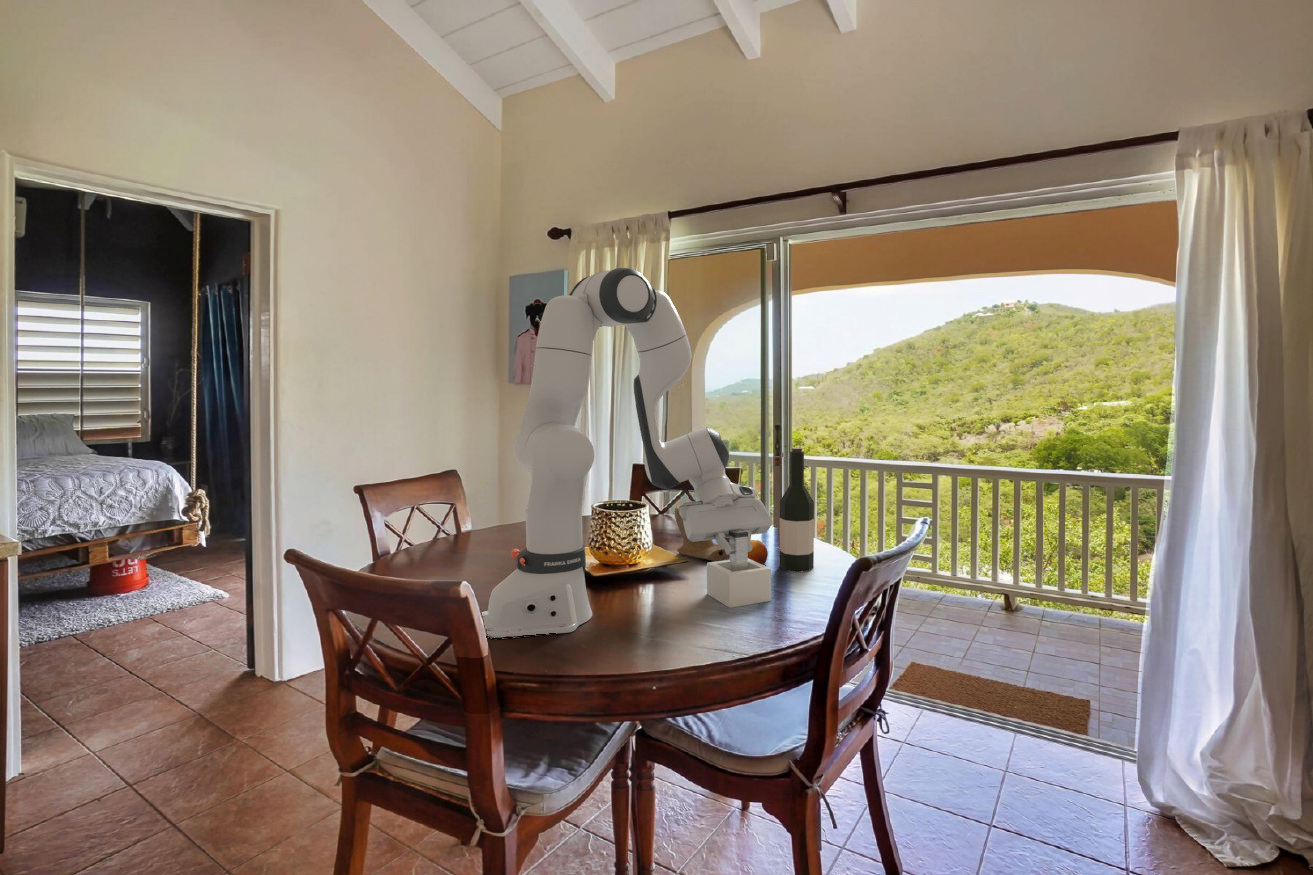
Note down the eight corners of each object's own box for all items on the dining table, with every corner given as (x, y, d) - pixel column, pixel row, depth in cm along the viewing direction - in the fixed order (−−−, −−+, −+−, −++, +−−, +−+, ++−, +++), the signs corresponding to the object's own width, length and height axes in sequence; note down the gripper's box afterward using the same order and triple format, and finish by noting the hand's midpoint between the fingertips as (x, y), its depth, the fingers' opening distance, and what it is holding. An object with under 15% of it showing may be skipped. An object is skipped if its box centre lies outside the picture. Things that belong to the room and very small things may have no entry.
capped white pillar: (735, 584, 141) (734, 534, 140) (726, 579, 145) (725, 530, 144) (751, 582, 142) (751, 531, 141) (742, 577, 146) (741, 528, 145)
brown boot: (665, 556, 179) (665, 501, 178) (697, 548, 187) (697, 495, 185) (705, 567, 167) (704, 508, 166) (737, 559, 175) (737, 502, 174)
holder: (729, 607, 137) (729, 574, 137) (707, 593, 146) (706, 562, 146) (770, 600, 141) (770, 568, 140) (746, 587, 150) (746, 557, 150)
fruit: (774, 566, 162) (757, 538, 162) (747, 582, 163) (730, 554, 164) (775, 558, 170) (759, 531, 170) (749, 572, 171) (733, 546, 172)
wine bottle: (820, 568, 165) (821, 448, 163) (796, 573, 161) (797, 450, 158) (796, 561, 172) (796, 446, 170) (772, 566, 167) (772, 448, 165)
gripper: (680, 495, 144) (701, 549, 136) (760, 487, 152) (785, 538, 144) (672, 512, 149) (692, 565, 140) (750, 503, 157) (774, 554, 149)
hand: (740, 551), depth 142 cm, fingers closed on capped white pillar, 3 cm apart
